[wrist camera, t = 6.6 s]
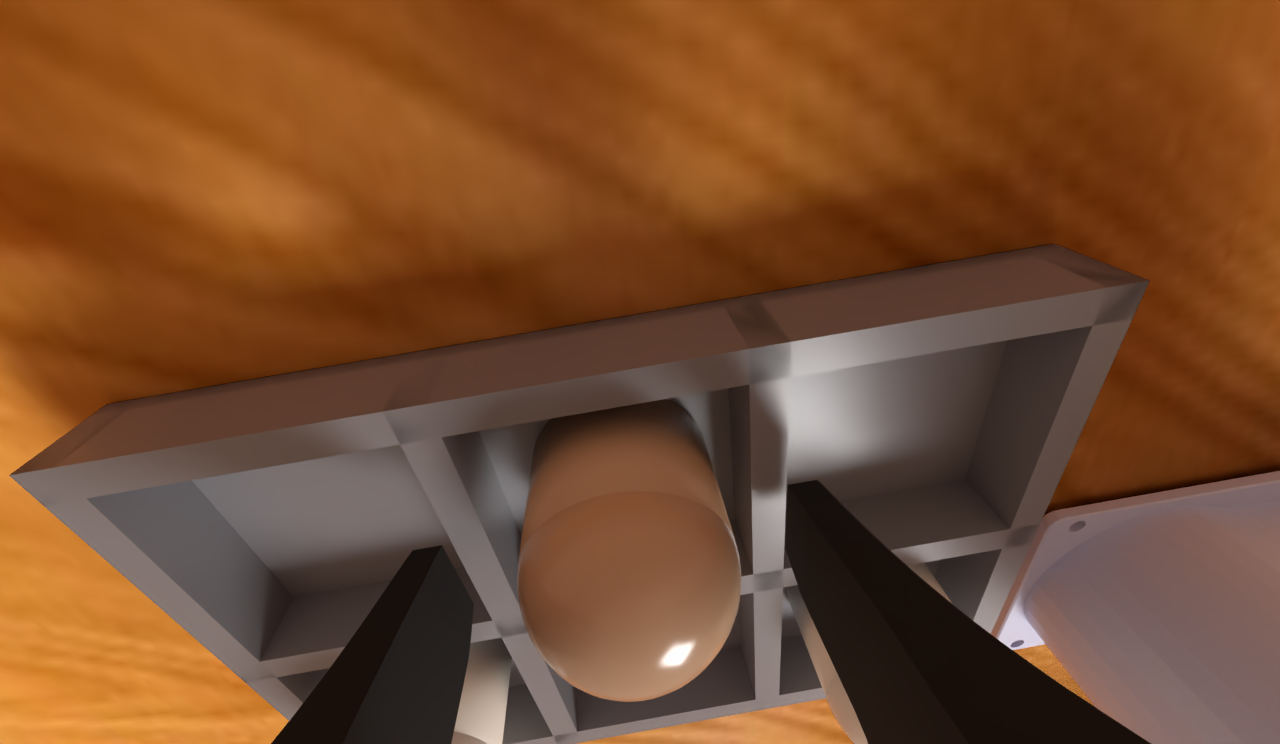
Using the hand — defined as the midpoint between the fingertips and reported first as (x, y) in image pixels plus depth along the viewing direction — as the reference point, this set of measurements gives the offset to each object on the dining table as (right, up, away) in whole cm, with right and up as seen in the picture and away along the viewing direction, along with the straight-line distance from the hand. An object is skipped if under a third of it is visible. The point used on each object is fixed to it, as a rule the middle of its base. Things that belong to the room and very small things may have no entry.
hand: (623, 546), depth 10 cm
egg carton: (0, -1, +4) cm, 5 cm away
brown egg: (0, +1, +2) cm, 3 cm away
